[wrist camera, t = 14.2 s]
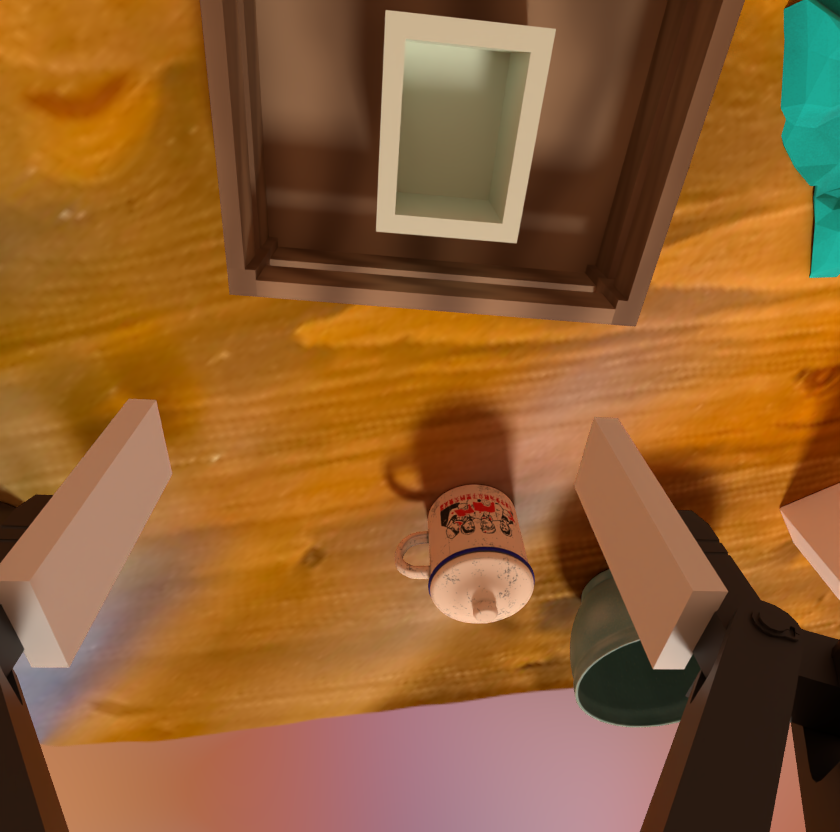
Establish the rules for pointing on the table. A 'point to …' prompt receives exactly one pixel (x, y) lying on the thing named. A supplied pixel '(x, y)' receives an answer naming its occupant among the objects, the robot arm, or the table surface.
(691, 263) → the table surface
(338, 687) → the table surface
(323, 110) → the crate
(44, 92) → the table surface
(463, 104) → the small crate
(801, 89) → the cloth
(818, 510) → the milk
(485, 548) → the teacup with lid
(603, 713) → the flower pot
